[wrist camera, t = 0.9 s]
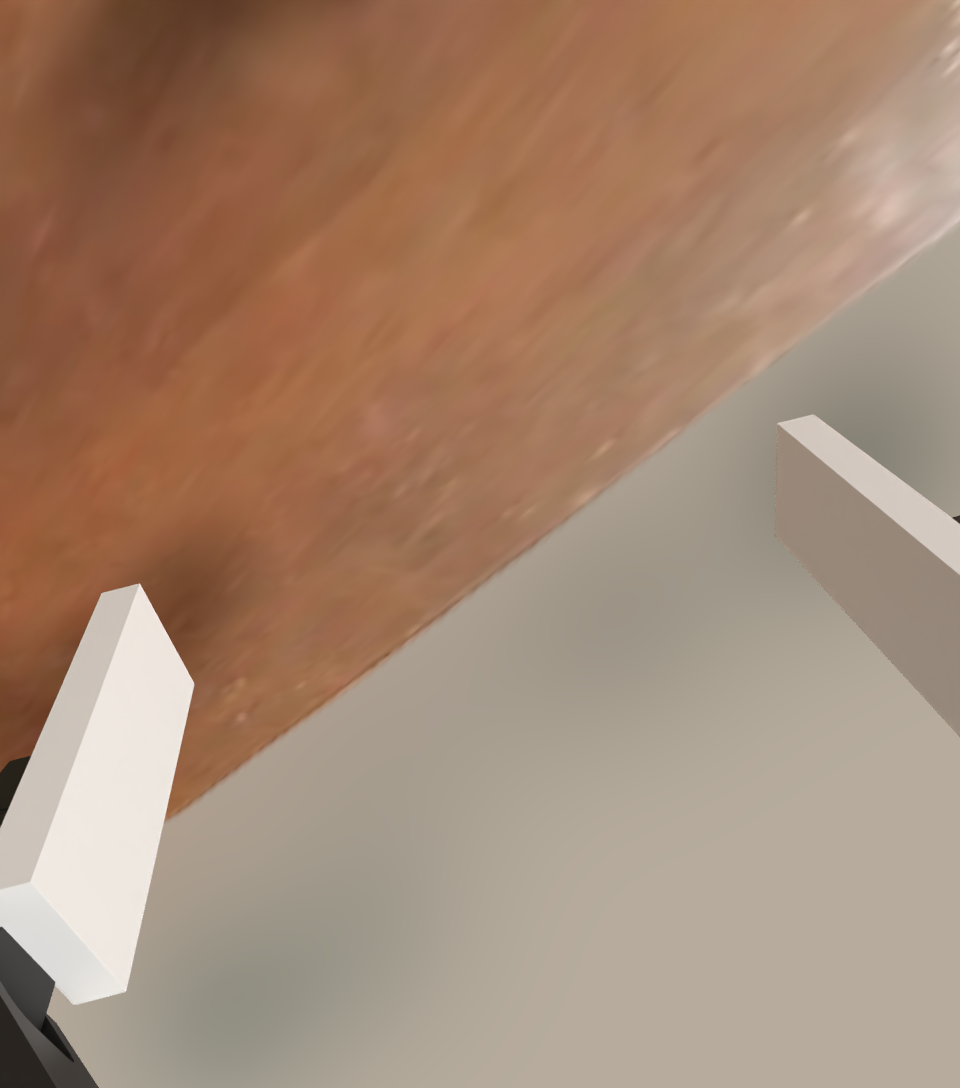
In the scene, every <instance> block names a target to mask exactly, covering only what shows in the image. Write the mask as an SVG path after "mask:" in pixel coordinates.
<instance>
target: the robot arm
mask: <svg viewBox="0 0 960 1088" xmlns="http://www.w3.org/2000/svg"><path fill="white" fill-rule="evenodd" d="M776 460H777V461H776V507H775V536H776V537H777V538H778V539H779V540H780V542H781V543H782V544H783V545H784V546H785V547H786V548H787V549H788V550H789V551H790V552H791V554H792V555H793V556H794V557H795V558H796V559H797V560H798V561H799V562H800V563H801V564H802V566H803V567H804V568H805V569H806V570H807V571H808V572H809V573H810V574H811V575H812V576H813V578H814V579H815V580H816V581H817V582H818V583H819V584H820V585H821V586H822V587H823V588H824V590H825V591H826V592H827V593H828V594H829V595H830V596H831V597H832V598H833V599H834V600H835V601H836V603H837V604H838V605H839V606H840V607H841V608H842V609H843V610H844V611H845V612H846V613H847V615H848V616H849V617H850V618H851V619H852V620H853V621H854V622H855V623H856V624H857V625H858V626H859V628H860V629H861V630H862V631H863V632H864V633H865V634H866V635H867V636H868V637H869V639H871V641H872V642H873V643H874V644H875V645H876V646H877V647H878V648H879V649H880V650H881V652H882V653H883V654H884V655H885V656H886V657H887V658H888V659H889V660H890V661H891V662H892V664H893V665H894V666H895V667H896V668H897V669H898V670H899V671H900V672H901V673H902V674H903V676H904V677H905V678H906V679H907V680H908V681H909V682H910V683H911V684H912V685H913V686H914V688H915V689H916V690H917V691H918V692H919V693H920V694H921V695H922V696H923V697H924V698H925V699H926V701H927V702H928V703H929V704H930V705H931V706H932V707H933V708H934V709H935V710H936V711H937V713H938V714H939V715H940V716H941V717H942V718H943V719H944V720H945V721H946V722H947V723H948V725H949V726H950V727H951V728H952V729H953V730H954V731H955V732H956V733H957V734H958V735H959V736H960V516H957V517H953V518H951V517H950V516H949V515H947V514H946V513H944V512H943V511H942V510H941V509H939V508H938V507H936V506H935V505H934V504H932V503H931V502H930V501H928V500H927V499H926V498H924V497H923V496H922V495H920V494H919V493H918V492H916V491H915V490H914V489H912V488H911V487H910V486H908V485H907V484H906V483H904V482H903V481H902V480H900V479H899V478H898V477H896V476H895V475H894V474H892V473H891V472H890V471H888V470H887V469H886V468H884V467H883V466H882V465H880V464H879V463H877V462H876V461H875V460H874V459H872V458H871V457H870V456H868V455H867V454H866V453H864V452H863V451H862V450H860V449H859V448H858V447H856V446H855V445H853V444H852V443H851V442H850V441H848V440H847V439H846V438H844V437H843V436H842V435H840V434H839V433H838V432H836V431H835V430H834V429H832V428H831V427H830V426H828V425H827V424H826V423H824V422H823V421H822V420H820V419H819V418H818V417H816V416H815V415H809V416H805V417H801V418H797V419H793V420H789V421H785V422H781V423H777V457H776ZM193 688H194V682H193V680H192V679H191V677H190V675H189V673H188V671H187V669H186V667H185V666H184V664H183V662H182V660H181V658H180V656H179V655H178V653H177V651H176V649H175V647H174V645H173V644H172V642H171V640H170V638H169V636H168V634H167V633H166V631H165V629H164V627H163V625H162V623H161V622H160V620H159V618H158V616H157V614H156V612H155V611H154V609H153V607H152V605H151V603H150V601H149V600H148V598H147V596H146V594H145V592H144V590H143V589H142V587H141V585H140V584H136V585H132V586H128V587H124V588H120V589H116V590H112V591H108V592H104V593H101V596H100V598H99V600H98V603H97V605H96V607H95V610H94V612H93V614H92V617H91V619H90V621H89V624H88V626H87V628H86V631H85V633H84V635H83V637H82V640H81V642H80V644H79V647H78V649H77V651H76V654H75V656H74V658H73V661H72V663H71V665H70V668H69V670H68V672H67V675H66V677H65V679H64V681H63V684H62V686H61V688H60V691H59V693H58V695H57V698H56V700H55V702H54V705H53V707H52V709H51V712H50V714H49V716H48V719H47V721H46V723H45V725H44V728H43V730H42V732H41V735H40V737H39V739H38V742H37V744H36V746H35V749H34V751H33V753H32V756H28V757H24V758H20V759H16V760H13V761H10V762H9V763H8V764H7V765H6V766H5V768H4V769H3V770H2V771H1V772H0V1088H99V1087H98V1086H97V1084H96V1083H95V1081H94V1080H93V1078H92V1077H91V1075H90V1074H89V1072H88V1071H87V1069H86V1068H85V1066H84V1065H83V1063H82V1062H81V1060H80V1058H79V1057H78V1055H77V1054H76V1053H75V1051H74V1049H73V1048H72V1046H71V1045H70V1043H69V1042H68V1040H67V1039H66V1037H65V1036H64V1034H63V1033H62V1031H61V1030H60V1028H59V1026H58V1025H57V1023H56V1022H55V1021H53V1019H51V1017H50V1016H48V1015H47V1014H46V1012H47V1009H48V1006H49V1002H50V999H51V996H52V992H53V989H54V986H56V987H57V988H58V989H59V990H60V991H61V992H62V993H63V994H64V995H65V996H66V997H67V998H68V999H69V1000H70V1002H71V1003H72V1004H73V1005H78V1004H81V1003H85V1002H89V1001H93V1000H96V999H100V998H104V997H108V996H111V995H115V994H119V993H123V992H126V990H127V985H128V980H129V976H130V971H131V967H132V962H133V958H134V953H135V949H136V944H137V940H138V935H139V931H140V926H141V922H142V917H143V913H144V908H145V903H146V899H147V895H148V890H149V886H150V881H151V877H152V872H153V868H154V863H155V859H156V854H157V850H158V845H159V841H160V836H161V832H162V827H163V823H164V818H165V814H166V809H167V805H168V800H169V796H170V791H171V787H172V782H173V778H174V773H175V769H176V764H177V760H178V755H179V751H180V746H181V742H182V737H183V733H184V728H185V724H186V719H187V715H188V710H189V706H190V701H191V697H192V692H193Z"/></svg>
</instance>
